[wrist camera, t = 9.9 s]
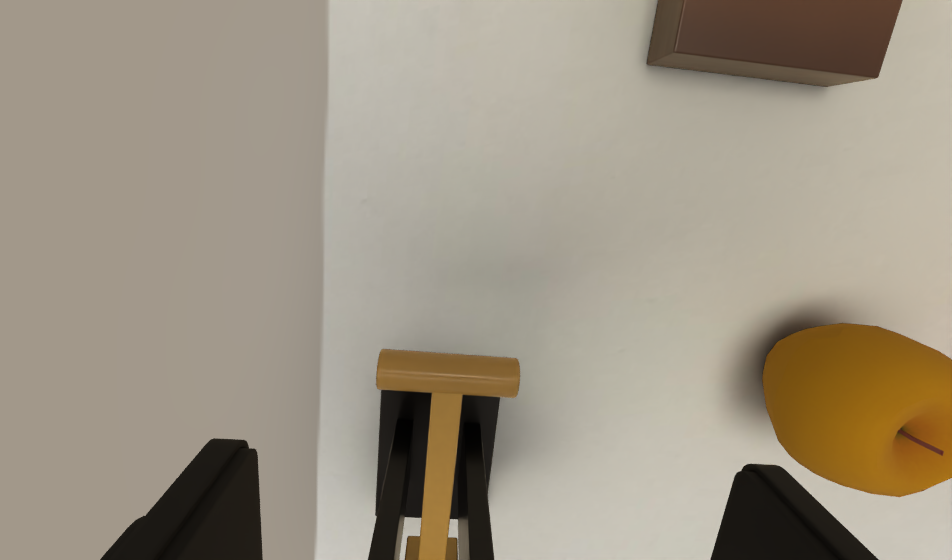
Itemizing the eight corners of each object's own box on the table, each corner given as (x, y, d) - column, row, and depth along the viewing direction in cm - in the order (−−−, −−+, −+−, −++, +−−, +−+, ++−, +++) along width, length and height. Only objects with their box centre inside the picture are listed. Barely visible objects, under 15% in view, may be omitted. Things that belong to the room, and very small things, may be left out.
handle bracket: (384, 365, 27) (336, 520, 16) (500, 373, 28) (533, 528, 16) (378, 502, 30) (332, 718, 18) (483, 506, 30) (501, 719, 19)
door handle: (384, 337, 17) (374, 366, 15) (514, 346, 18) (524, 376, 15) (372, 583, 20) (362, 638, 18) (482, 586, 21) (485, 641, 18)
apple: (735, 437, 30) (848, 552, 21) (717, 323, 27) (837, 401, 19) (862, 401, 29) (1028, 503, 21) (856, 283, 27) (1040, 343, 19)
